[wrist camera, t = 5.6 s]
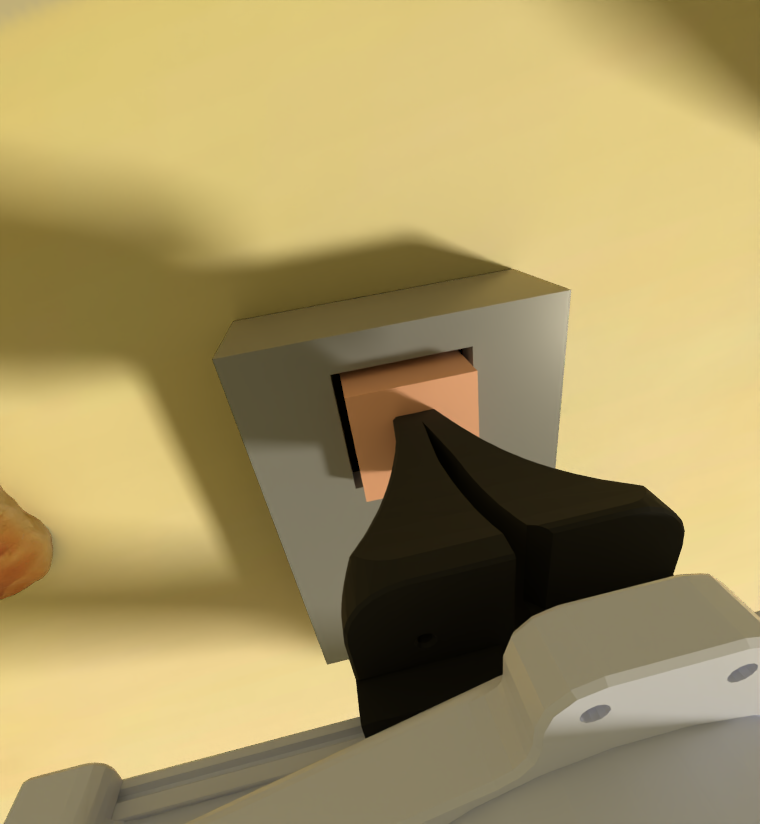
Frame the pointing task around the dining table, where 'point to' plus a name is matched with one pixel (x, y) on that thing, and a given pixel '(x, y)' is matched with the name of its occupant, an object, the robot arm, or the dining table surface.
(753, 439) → the dining table surface
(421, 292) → the block
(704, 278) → the dining table surface
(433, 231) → the dining table surface
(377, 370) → the button
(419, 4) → the dining table surface
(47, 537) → the pastry
